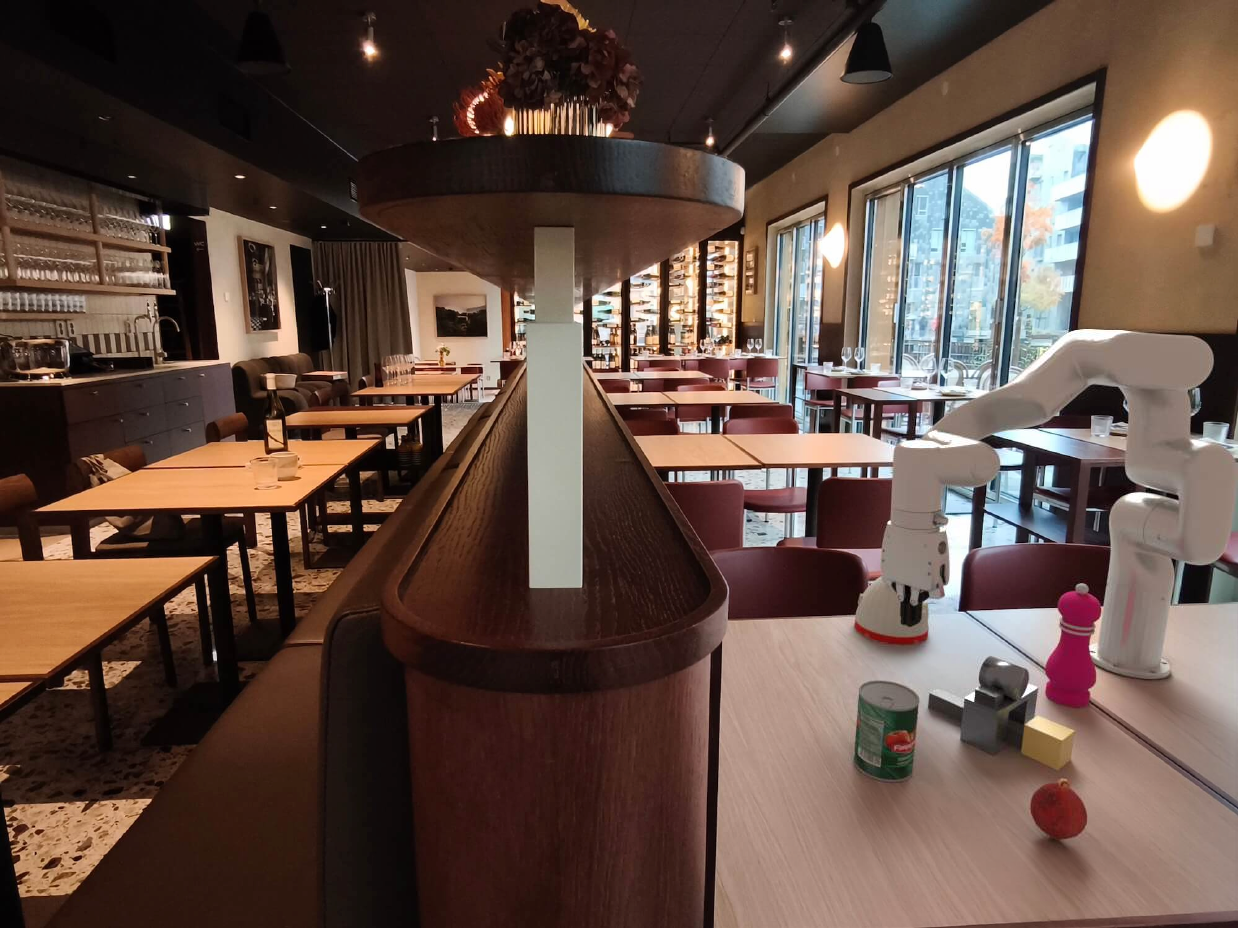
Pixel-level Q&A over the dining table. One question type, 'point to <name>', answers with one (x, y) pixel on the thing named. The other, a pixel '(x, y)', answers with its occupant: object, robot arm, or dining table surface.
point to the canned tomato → (886, 730)
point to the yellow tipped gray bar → (1019, 732)
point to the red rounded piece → (1058, 810)
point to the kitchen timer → (887, 617)
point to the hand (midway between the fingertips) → (910, 623)
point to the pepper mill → (1073, 650)
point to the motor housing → (997, 704)
